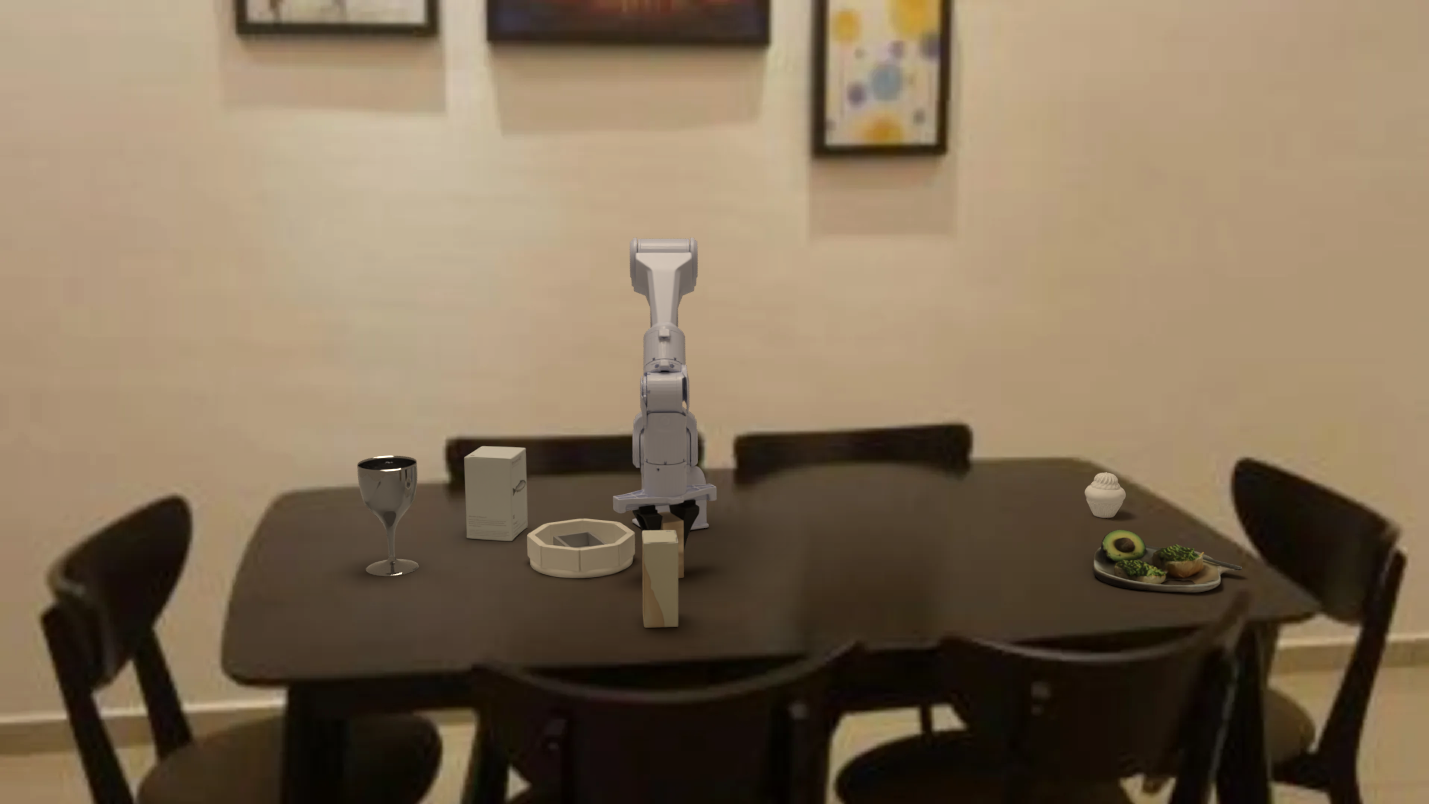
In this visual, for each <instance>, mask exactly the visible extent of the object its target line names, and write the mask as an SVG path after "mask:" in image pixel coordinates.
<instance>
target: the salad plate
mask: <svg viewBox="0 0 1429 804" xmlns="http://www.w3.org/2000/svg"><path fill="white" fill-rule="evenodd" d="M1091 569H1092V573H1093V574H1094V576H1095V578H1097V579H1098V580H1100V581H1101V582H1103V583H1104V584H1108V585H1110V586H1113V587H1117V588H1123V589H1128V590H1134V591H1135V590H1136V591H1150V592H1151V591H1152V592H1162V593H1164V592H1165V593H1201V592H1203V593H1204V592H1206V591H1211V590H1213V589H1216V588H1217V587H1219V586H1220V584H1221V583H1222V582H1221V580H1222V577H1221V575H1222V574H1223V573H1227V572H1238V571H1241V570H1242V569H1243V567H1242V566H1240V565H1236V564H1233V563H1229V562H1225V561H1222V560H1221V561H1220V560H1217V559H1214V558H1213V557H1211V556H1209V555H1207V554H1205V551H1202V552H1199V551H1197V550H1196V551H1195V548H1193V547H1192V548H1189V547H1184V546H1182V545H1178V544H1177V543H1176V544H1174V545H1171V546H1167V547H1159V546H1152V545H1149V544H1146V543H1145V541H1144V540H1143V538H1142V537H1141V536H1139V535H1138V534H1137V533H1135V532H1132V531H1129V530H1126V529H1115V530H1111V531H1110V532H1108V533H1107V534H1106V535H1104V537H1103V539H1102V540H1101V543H1100V547H1098V548H1097V550H1095V552H1094V555H1093V566H1092V568H1091ZM1167 581H1181V582H1182V581H1184V582H1185V581H1191V582H1192V583H1194V584H1186V585H1184V584H1183V585H1181V584H1178V585H1177V584H1175V585H1174V584H1163V583H1164V582H1167Z"/></svg>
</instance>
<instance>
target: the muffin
mask: <svg viewBox="0 0 1429 804" xmlns="http://www.w3.org/2000/svg"><path fill="white" fill-rule="evenodd" d="M1084 495H1085V498H1086V499H1085V500H1086V502H1087V505H1088V506H1089V509H1090V511H1091V513H1092V515H1093V516H1094V517H1097V518H1103V519H1106V518H1107V519H1110V518H1115V516H1116V514H1117V513H1118V511H1119V509H1121V506H1122V505H1123V503H1124V500H1125V499H1126V496H1127V495H1126V491H1125V489H1124V488H1123V487H1121V485H1120V483H1119V479H1118V477H1117V476H1116V475H1115V474H1113V473H1110V472H1107V471H1106V472H1099V473H1097V474H1096V475H1095V476H1094V478H1093V481H1092V482H1091V483H1090V484H1089V485H1088V486H1087V487H1086V488H1085V489H1084Z"/></svg>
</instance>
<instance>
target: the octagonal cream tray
mask: <svg viewBox="0 0 1429 804" xmlns="http://www.w3.org/2000/svg"><path fill="white" fill-rule="evenodd" d="M635 535H636V532H635V531H633V530H632V529H630V528H629V527H628V526H627V525H624V524H623V523H622V522H619V521H613V520H601V519H592V518H576V519H575V518H574V519H568V520H567V519H566V520H561V521H560V520H559V521H555V522H553V521H552V522H546V523H543V524H542V525H540V526H537V528H535V529H534V530H532V531H530V532H528V534H527V535H526V545H527V546H526V547H527V548H526V551H527V557H528V558H529V565H530V567H531V568H532V569H533V570H534V571H536V572H537V573H539V574H542V575H546V576H551V577H557V578H563V579H588V578H597V577H603V576H605V577H606V576H610V575H613V574H617V573H619V572H622V571H624V570H626V569H628V568H630V566H631V565H632V564H633V563H634V562H633V561H634V555H635V554H636V545H635V544H636V536H635Z"/></svg>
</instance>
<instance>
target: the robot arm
mask: <svg viewBox="0 0 1429 804" xmlns="http://www.w3.org/2000/svg"><path fill="white" fill-rule="evenodd" d="M698 248H699V246H698V240H696V239H695V237H689V238H638V237H633V238H632V239H631V240H630V241H629V277H630V280H631V287H633V291H634V292H635V293H637V294H640V295H642V296H645V298H646V301H647V303H648V306H649V312H650V313H649V314H650V315H649V318H650V321H649V322H650V325H649V327H650V328H648V329H647V330H646V331H645V332H644V334H643V340H642V342H643V355H642V356H643V357H642V358H643V359H642V360H643V364H642V365H643V368H642V369H643V371H642V372H643V375H641V376H640V379H639V402H640V405H639V406H640V411H639V412H638V413H637V414H636V415H635V417H634V418H633V422H632V423H633V425H632V426H633V428H632V464H633V466H634V467H635V468H637V469H638V468H639V469H640V474H641V489H640V490H635V491H632V492H628V493H625V494H624V493H623V494H619V495H613V496H612V505H613V507H612V508H613V509H612V510H613V511H615V512H616V513H618V514H625V513H627V511H628V512H629V511H632V514H633V515H634V517H635V518H632V521H631V522H632V523H633V524H635V525H636V526H638V527H640V530H641V532H642V531H646V530H660V528H661V522H662V518H663V516H662V515H660V514H659V512H666V511H669V512H670V513H672V514H673V515H675V516H677V517H678V518H680V519H682V520H683V524H684V550H685V549H686V544H687V542H688V541H687V540H688V537H689V535H690V532H691V531H693V530H699V529H704V528H705V529H706V528H709V525H710V524H709V523H708V522H707V521H708V520H707V517H708V516H707V501H709V502H713V501H717V491H718V490H717V486H715V485H714V484H712V483H707V482H706V478H705V474H704V472H703V470H702V469H701V468H700V467H699V466H697V464H698V462H699V461H698V459H699V445H698V444H699V443H698V442H699V439H698V437H699V435H698V434H699V433H698V427H697V426H698V423H697V419H696V417H695V415H694V413H692V412H691V411H689V410H690V378H689V373H688V366H687V364H686V363H687V362H686V360H687V359H686V336H685V333H684V332H683V331H682V329H681V328H679V307H680V304H681V302H682V299H683V296H685V295H687V294H690V293H693V292H695V287H696V286H697V280H698V279H697V278H698V275H699V274H698V271H699V270H698V269H699V268H698V267H699V266H698V263H699V262H698V261H699V260H698V257H699V255H698V251H699V249H698ZM683 402H684V403H685V406H686V407H684V406H683Z"/></svg>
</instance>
